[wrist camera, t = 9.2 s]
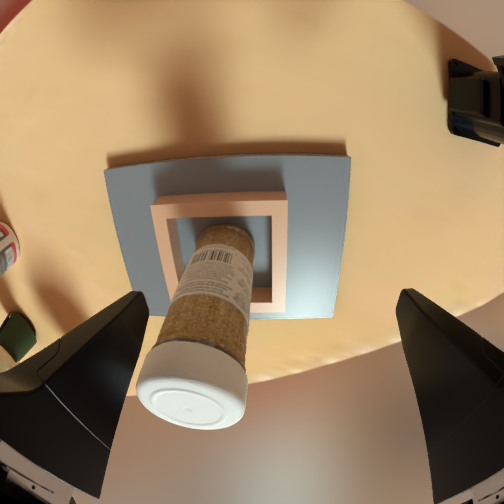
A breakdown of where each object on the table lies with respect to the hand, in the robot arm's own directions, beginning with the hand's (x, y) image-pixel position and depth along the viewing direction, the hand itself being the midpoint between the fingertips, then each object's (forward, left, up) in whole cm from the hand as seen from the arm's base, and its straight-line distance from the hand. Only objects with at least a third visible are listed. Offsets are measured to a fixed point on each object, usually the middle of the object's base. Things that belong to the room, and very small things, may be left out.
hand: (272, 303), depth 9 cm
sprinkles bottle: (+3, +4, -12) cm, 13 cm away
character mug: (+36, +17, -13) cm, 42 cm away
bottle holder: (+3, +4, -13) cm, 14 cm away
